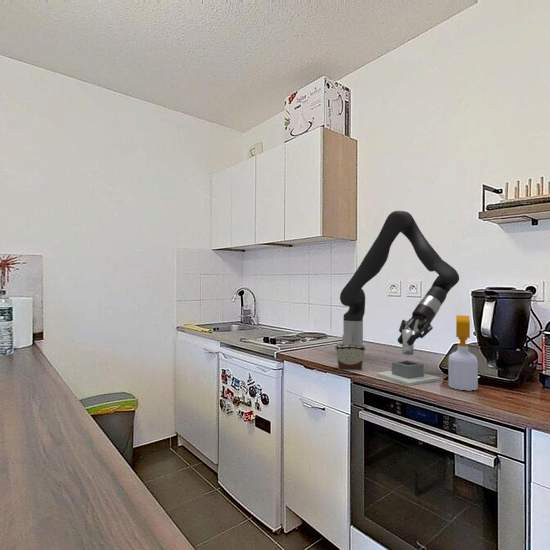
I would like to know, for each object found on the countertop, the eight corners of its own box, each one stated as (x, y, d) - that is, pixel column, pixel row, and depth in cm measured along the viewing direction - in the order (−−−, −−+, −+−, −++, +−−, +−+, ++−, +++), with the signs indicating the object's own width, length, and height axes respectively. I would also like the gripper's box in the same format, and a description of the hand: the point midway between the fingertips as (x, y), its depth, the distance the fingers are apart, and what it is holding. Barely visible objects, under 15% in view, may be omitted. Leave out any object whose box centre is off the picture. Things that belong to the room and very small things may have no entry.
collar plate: (376, 375, 148) (376, 361, 148) (406, 371, 155) (406, 357, 155) (408, 385, 134) (408, 369, 134) (440, 380, 141) (440, 365, 141)
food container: (363, 367, 162) (363, 343, 162) (365, 370, 156) (365, 345, 156) (334, 366, 163) (334, 342, 163) (334, 369, 157) (334, 345, 157)
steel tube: (400, 353, 146) (399, 329, 146) (407, 352, 147) (407, 328, 148) (408, 355, 142) (408, 330, 142) (415, 354, 144) (415, 330, 144)
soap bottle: (476, 385, 134) (476, 315, 134) (478, 392, 126) (478, 317, 126) (448, 382, 138) (448, 314, 138) (448, 389, 130) (448, 316, 130)
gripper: (407, 302, 155) (384, 334, 149) (437, 304, 142) (413, 339, 136) (417, 315, 157) (395, 347, 151) (447, 317, 144) (424, 353, 139)
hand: (404, 343), depth 144 cm, fingers closed on steel tube, 4 cm apart
